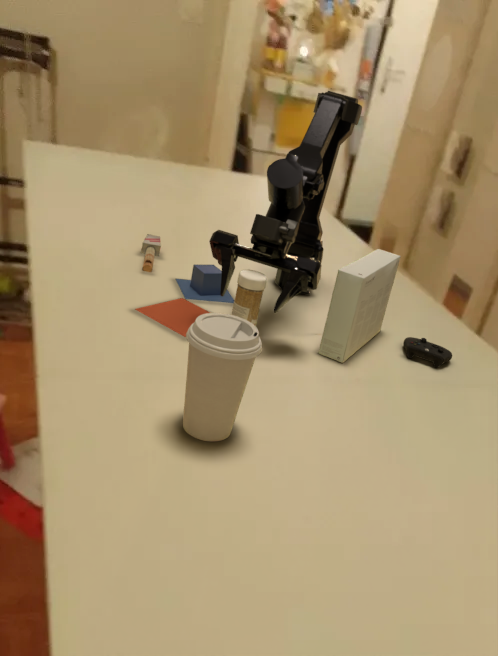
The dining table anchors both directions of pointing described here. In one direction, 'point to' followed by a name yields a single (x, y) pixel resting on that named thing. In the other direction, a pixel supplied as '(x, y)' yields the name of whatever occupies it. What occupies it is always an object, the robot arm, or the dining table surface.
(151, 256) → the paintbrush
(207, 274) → the blue block
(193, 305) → the terracotta mat
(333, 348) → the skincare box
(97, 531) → the dining table surface
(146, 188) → the dining table surface
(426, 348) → the game controller
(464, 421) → the dining table surface
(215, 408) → the coffee cup
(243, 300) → the sprinkles bottle
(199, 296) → the blue mat
